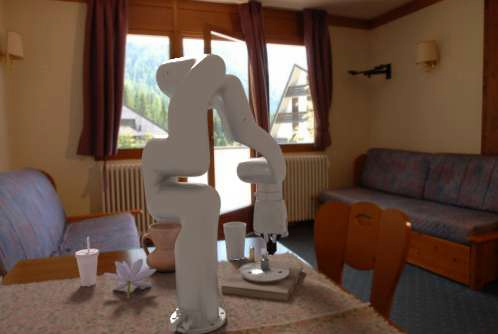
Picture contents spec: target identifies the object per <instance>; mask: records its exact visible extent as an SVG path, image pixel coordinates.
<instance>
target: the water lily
mask: <svg viewBox="0 0 498 334" xmlns="http://www.w3.org/2000/svg"><path fill="white" fill-rule="evenodd" d="M114 265H115V268H116V269H115V271H116V273H117V275H116V274H114V273H111V272H104V274H103V275H106V277H108V278H110V279H113V280H115V281H118V283H117V284H114V285H113V287H112V291H119V290H122V289H124V288H126V287H127V291H126V297H127V298H126V300H130V299H131V298H130V297H131V296H130V295H131V292H130V291H131V290H130V289H131V285H132V286H135V287H137V288H145V289H146V288H147V289H148V288H152V285H151V283H149V282H146V281H142V280H145V279H147V278H149V277H150V276H152V275H153V274H154V273H156V272H157V271H156V269H151V268H149V266H147V267H143V265H144V259H143V258H139V259H137V260H136V261H135V262H134V263H132V265H131V266H130V265H129V264H128V262H126V261H125V260H123V261H122V262H121V261H119V260H118V261H117V260H116V261H114ZM129 266H130V267H129Z"/></svg>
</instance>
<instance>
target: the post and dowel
mask: <svg viewBox="0 0 498 334" xmlns="http://www.w3.org/2000/svg"><path fill="white" fill-rule="evenodd" d="M248 250H249V253H248V254H249V260H250V263H254V262H255V261H256V260H255V259H256V257H255V255H256V254H255V250H256V249H255V247H254V246H249V249H248ZM260 261H261V269H263V270H267V269H269V262H270V259H269V258H268V257H267V258H262V259H261V258H260Z"/></svg>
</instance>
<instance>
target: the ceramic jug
mask: <svg viewBox="0 0 498 334" xmlns="http://www.w3.org/2000/svg"><path fill="white" fill-rule="evenodd" d="M181 229H182V225H181V224H175V223H167V222H161V221H160V222H155V223H151V224H150V225H148V231H149V232H146V233H144V234H143V235H142V237H141V243H140V244H141V246H142V249H143V252H144V253H145V256H146V259H145V263H146V265H147V267H148V268H149V269H156V271H155V272H163V273H168V272H176V270H175V242H176V239H177V237H178V235H179V233H180V231H181ZM147 238H148V239H149V240H151V241H152V244H153V245H154V249H153V250H152V251H150V250H149V249H148V246H147Z"/></svg>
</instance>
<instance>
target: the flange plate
mask: <svg viewBox="0 0 498 334" xmlns="http://www.w3.org/2000/svg"><path fill="white" fill-rule="evenodd" d="M260 249H261V250H260V254H261V255H260V256H261V258H260V260H261V259H262V258H267V259H268V251H267V250H266V247H262V248H260ZM284 264H285V263H284ZM284 264H281V262H277V261H269V269H267V270H263V269H261V262H254V263H249V264H247V265H244V264H243V265H244V266H243V267H242V268H241V277H242V278H243V279H244V280H246V281H249V282H253V283H261V284H269V283H277V282H281V281H283V280H285V279H287V278H288V277H289V268H288V267H287V266H286V265H284Z"/></svg>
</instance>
